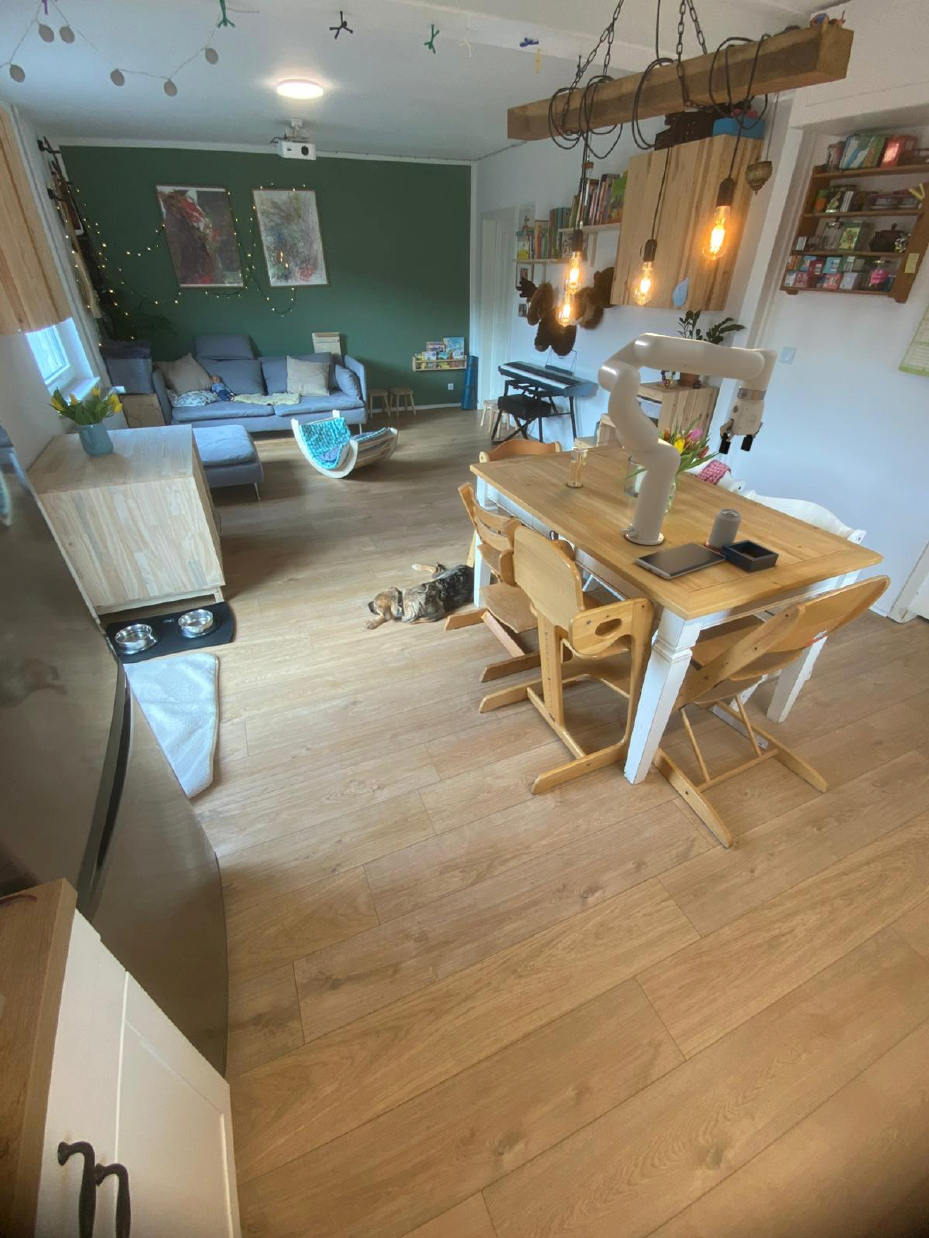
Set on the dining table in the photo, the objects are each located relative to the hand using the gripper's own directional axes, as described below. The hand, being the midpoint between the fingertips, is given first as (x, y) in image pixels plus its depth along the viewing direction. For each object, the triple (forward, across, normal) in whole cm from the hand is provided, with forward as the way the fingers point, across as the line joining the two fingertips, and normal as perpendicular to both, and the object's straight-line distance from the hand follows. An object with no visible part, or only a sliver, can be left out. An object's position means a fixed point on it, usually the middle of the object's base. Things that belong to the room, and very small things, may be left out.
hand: (733, 452), depth 169 cm
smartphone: (+28, -26, -13) cm, 41 cm away
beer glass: (+28, -15, +60) cm, 68 cm away
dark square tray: (+28, -6, -20) cm, 35 cm away
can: (+28, -6, -10) cm, 30 cm away
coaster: (+28, -6, -10) cm, 30 cm away
